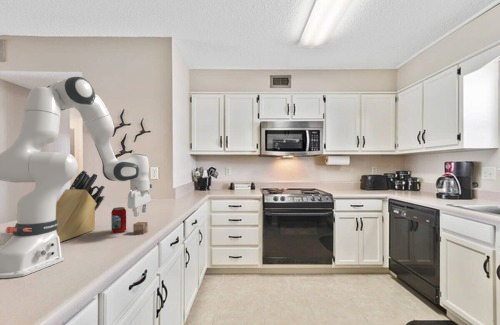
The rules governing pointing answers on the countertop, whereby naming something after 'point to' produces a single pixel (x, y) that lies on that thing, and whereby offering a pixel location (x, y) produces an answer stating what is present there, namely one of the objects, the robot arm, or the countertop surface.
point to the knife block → (78, 207)
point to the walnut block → (140, 228)
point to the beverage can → (118, 219)
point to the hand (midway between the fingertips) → (140, 214)
